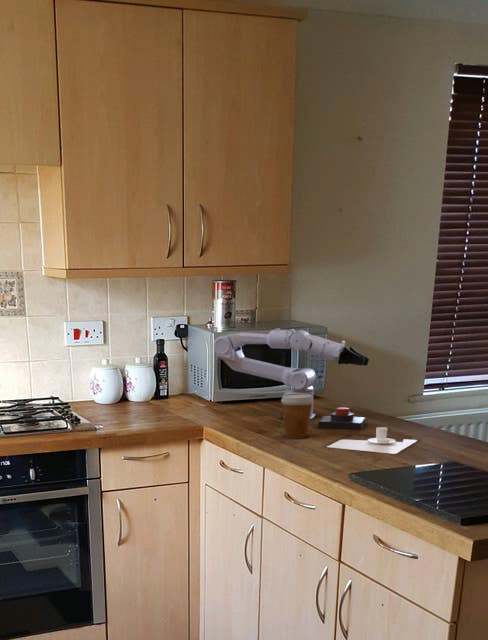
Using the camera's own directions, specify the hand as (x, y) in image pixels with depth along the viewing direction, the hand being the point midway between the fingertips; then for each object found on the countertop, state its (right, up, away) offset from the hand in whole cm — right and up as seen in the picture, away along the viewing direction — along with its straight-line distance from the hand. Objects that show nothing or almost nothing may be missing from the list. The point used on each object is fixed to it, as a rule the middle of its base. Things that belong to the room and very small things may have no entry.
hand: (365, 362), depth 275 cm
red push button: (-8, -17, -3) cm, 19 cm away
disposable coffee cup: (-24, -26, -14) cm, 38 cm away
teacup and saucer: (-4, -30, -26) cm, 40 cm away
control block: (-8, -20, -1) cm, 22 cm away
